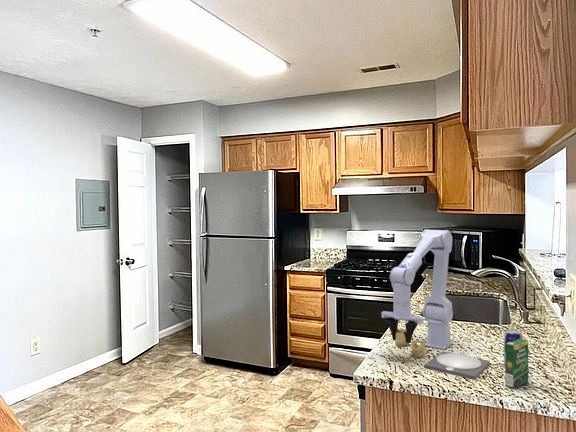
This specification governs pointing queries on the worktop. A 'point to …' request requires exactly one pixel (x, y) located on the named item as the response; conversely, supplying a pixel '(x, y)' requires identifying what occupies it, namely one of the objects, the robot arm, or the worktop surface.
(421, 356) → the tan rounded cylinder
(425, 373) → the worktop surface
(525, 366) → the green carton
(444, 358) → the kitchen scale
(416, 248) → the robot arm
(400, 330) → the golden domed cylinder
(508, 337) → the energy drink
